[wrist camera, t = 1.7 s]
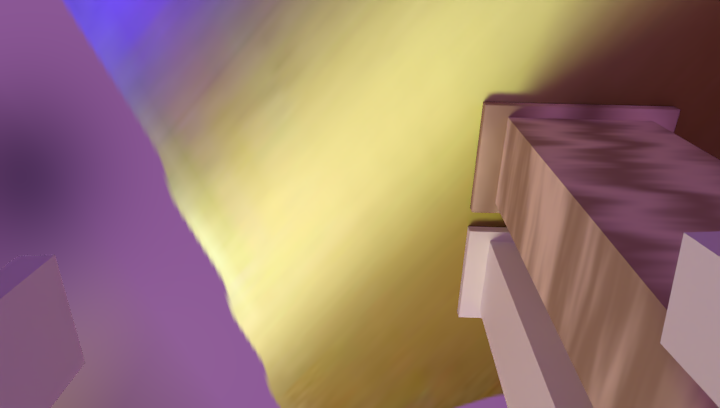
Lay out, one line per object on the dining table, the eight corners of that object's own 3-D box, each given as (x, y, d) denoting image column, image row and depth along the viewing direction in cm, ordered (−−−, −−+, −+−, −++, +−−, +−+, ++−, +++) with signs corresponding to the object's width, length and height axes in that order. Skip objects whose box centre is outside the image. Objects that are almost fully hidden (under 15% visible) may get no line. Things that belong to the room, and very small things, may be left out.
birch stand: (470, 207, 47) (638, 663, 17) (483, 101, 43) (744, 456, 12) (643, 212, 47) (1142, 688, 16) (674, 106, 42) (1437, 484, 12)
